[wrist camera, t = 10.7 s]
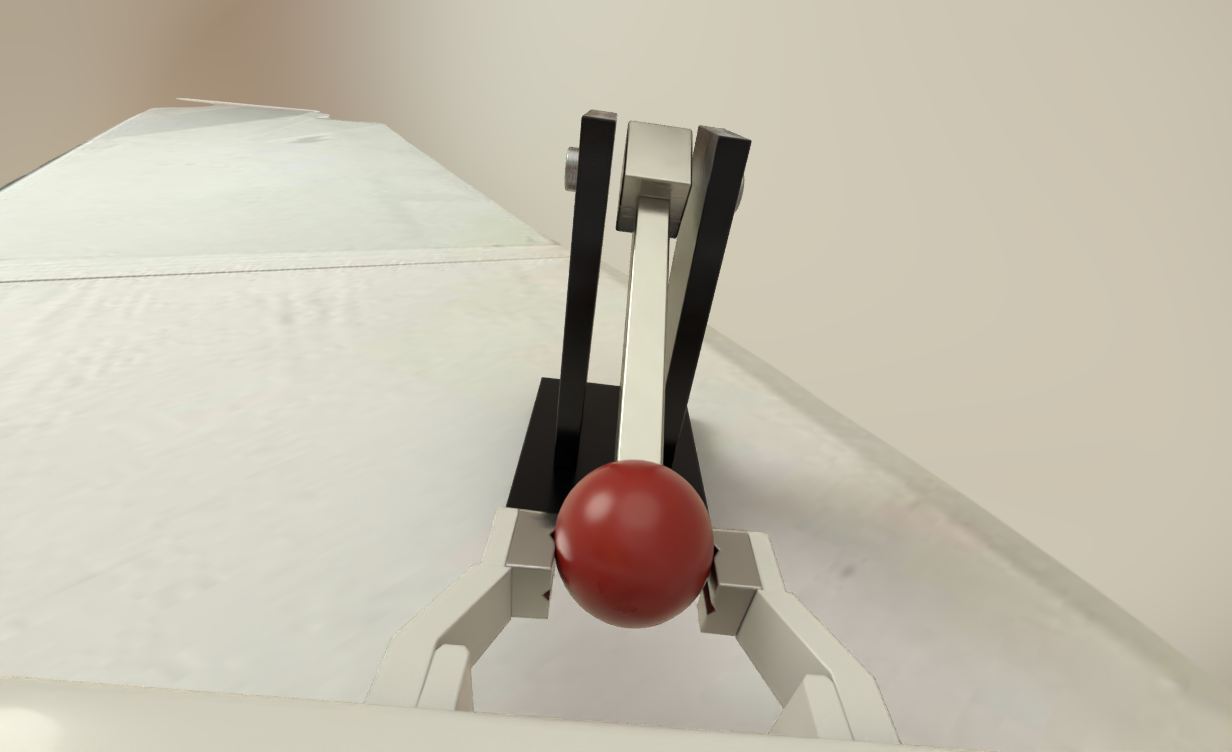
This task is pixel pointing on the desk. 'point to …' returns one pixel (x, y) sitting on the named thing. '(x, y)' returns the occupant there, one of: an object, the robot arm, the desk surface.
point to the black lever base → (570, 406)
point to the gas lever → (640, 425)
